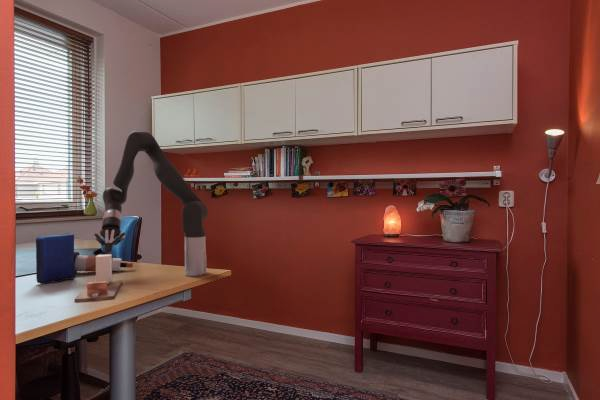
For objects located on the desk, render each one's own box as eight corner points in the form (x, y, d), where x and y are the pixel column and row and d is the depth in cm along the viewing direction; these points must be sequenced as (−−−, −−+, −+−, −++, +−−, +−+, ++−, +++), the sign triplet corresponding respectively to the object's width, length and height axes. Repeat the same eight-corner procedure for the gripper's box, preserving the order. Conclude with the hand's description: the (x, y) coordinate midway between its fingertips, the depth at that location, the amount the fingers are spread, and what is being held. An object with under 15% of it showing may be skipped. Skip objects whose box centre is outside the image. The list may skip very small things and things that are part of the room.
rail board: (121, 282, 156) (121, 270, 156) (113, 298, 132) (113, 284, 132) (89, 285, 152) (88, 272, 152) (74, 302, 128) (74, 287, 128)
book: (71, 277, 167) (70, 232, 166) (77, 278, 164) (77, 233, 164) (34, 284, 154) (34, 235, 154) (41, 285, 151) (40, 236, 151)
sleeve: (111, 280, 154) (111, 254, 154) (110, 283, 149) (109, 256, 149) (98, 281, 152) (97, 254, 152) (96, 284, 147) (95, 256, 147)
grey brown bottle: (130, 280, 180) (131, 263, 176) (48, 278, 170) (47, 259, 166) (133, 267, 189) (134, 250, 185) (55, 264, 178) (54, 246, 174)
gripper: (94, 216, 169) (89, 247, 157) (127, 215, 173) (124, 245, 162) (96, 227, 174) (92, 257, 163) (128, 226, 178) (125, 256, 167)
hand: (108, 251), depth 162 cm, fingers closed
